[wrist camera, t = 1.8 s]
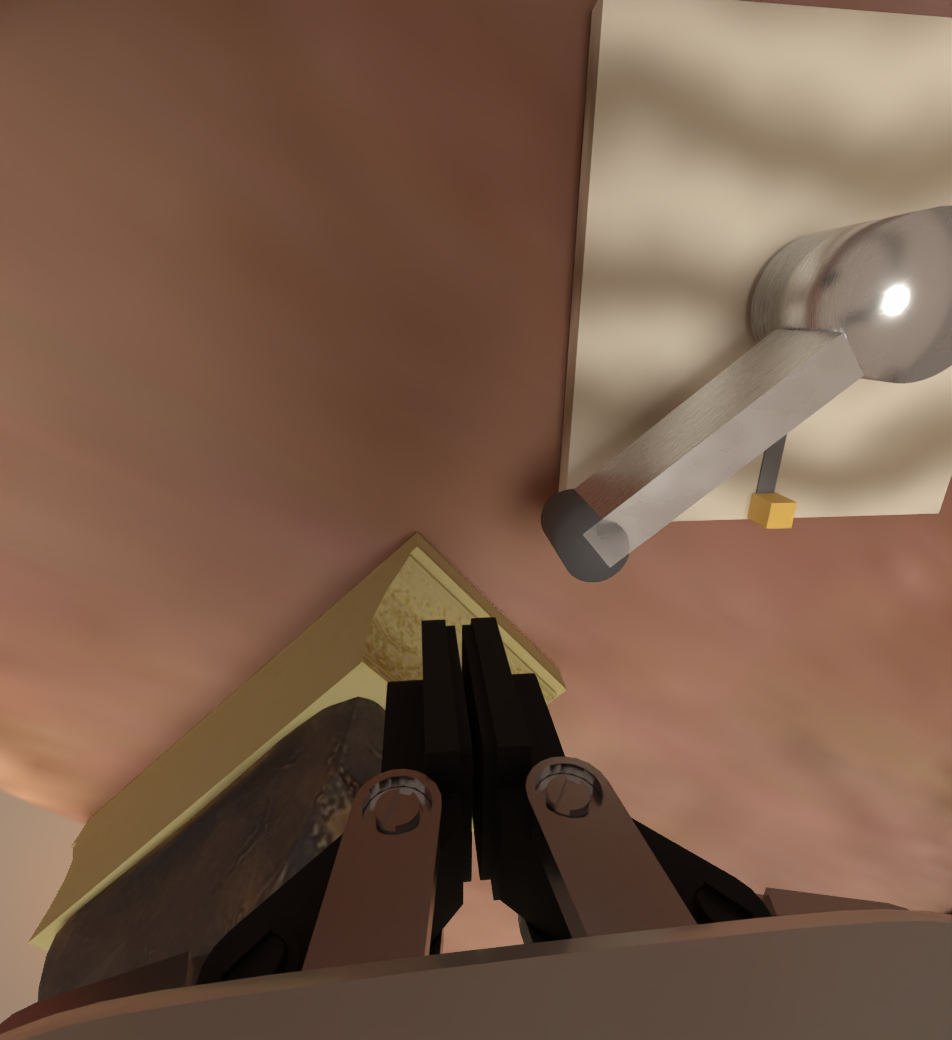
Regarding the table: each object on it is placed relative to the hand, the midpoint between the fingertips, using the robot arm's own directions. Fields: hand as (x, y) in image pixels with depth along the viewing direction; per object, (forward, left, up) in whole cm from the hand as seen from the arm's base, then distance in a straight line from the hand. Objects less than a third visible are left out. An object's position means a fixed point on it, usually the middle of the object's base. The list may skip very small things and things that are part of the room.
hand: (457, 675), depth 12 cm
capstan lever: (-4, +13, -15) cm, 20 cm away
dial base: (-8, +18, -17) cm, 26 cm away
